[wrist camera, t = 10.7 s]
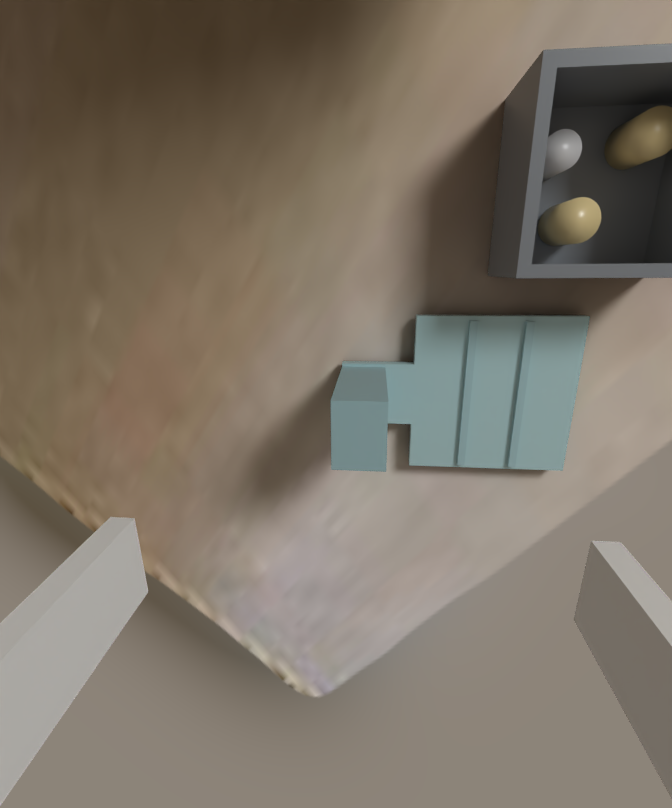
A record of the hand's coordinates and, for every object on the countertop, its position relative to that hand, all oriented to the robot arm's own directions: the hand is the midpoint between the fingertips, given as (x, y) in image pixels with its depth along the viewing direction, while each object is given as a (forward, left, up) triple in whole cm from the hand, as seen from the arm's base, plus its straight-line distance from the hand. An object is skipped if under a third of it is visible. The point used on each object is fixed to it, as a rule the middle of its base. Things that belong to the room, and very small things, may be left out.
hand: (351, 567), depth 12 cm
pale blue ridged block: (0, +6, -19) cm, 20 cm away
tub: (-13, +13, -20) cm, 27 cm away
